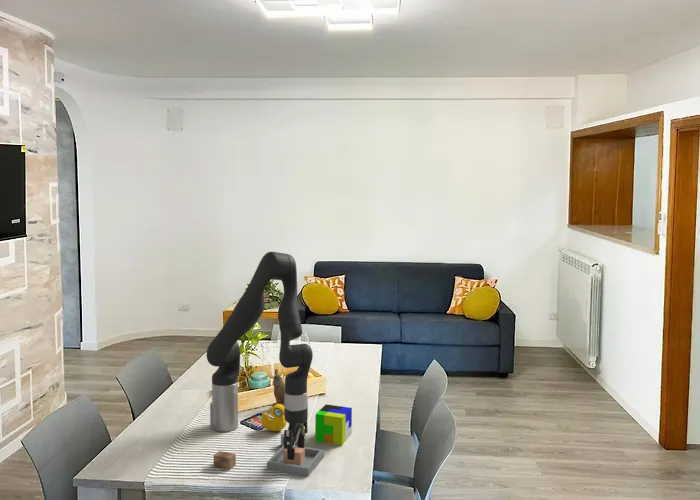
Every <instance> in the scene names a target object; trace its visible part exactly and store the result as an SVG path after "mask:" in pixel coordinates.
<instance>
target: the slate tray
mask: <svg viewBox="0 0 700 500" xmlns="http://www.w3.org/2000/svg"><path fill="white" fill-rule="evenodd" d="M295 447H298V446H295ZM304 449H305V461H304V462H303V463H302V464H301V465H298V464H292V463H285V462H283V450H284V445H283V446H281V447H280V448H279V449H278V450H277V452H276V453H274V454H273V455H272V457H271V458H270V459H268V460H267V462H266V464H267V465H266V470H267V471H274V472H279V473H286V474H292V475H299V476H304V477H309V476H310V475H311V474H312V473H313V471H315V469H316V468H317V466H318V465H319V464H320V462H321V461H322V460H323V459H324V455H325V453H324V452H325V450H324V449H321V448H314V447H308V446H307V447H306V446H305V447H304Z"/></svg>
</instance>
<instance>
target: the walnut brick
mask: <svg viewBox="0 0 700 500" xmlns="http://www.w3.org/2000/svg"><path fill="white" fill-rule="evenodd" d="M212 457H213V468H217V469H223V470H228V471H231V470H232V469H233V468H234V467H236V465H237V462H236V461H237V459H236V453H233V452H227V451H222V450H218V451H217V452H216V453H215V454H213V456H212Z"/></svg>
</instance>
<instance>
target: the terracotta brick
mask: <svg viewBox="0 0 700 500" xmlns="http://www.w3.org/2000/svg"><path fill="white" fill-rule="evenodd" d="M304 461H305V449H304V448H298V447H295V459H294V460H289V459H288V458H287V449H284V450H283V462H285V463H292V464H298V465H301V464H302V463H303V462H304Z"/></svg>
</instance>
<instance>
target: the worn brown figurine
mask: <svg viewBox="0 0 700 500" xmlns="http://www.w3.org/2000/svg"><path fill="white" fill-rule="evenodd" d="M274 375H275V376H273V379H272V384H273V397H274V399H275V402H273V403H272V404H271V407H273V406H274V405H276V404H282V405H283V406H284V397H285V380H283V378H282V376H281V375H279V370H278V368H275V370H274ZM271 407H270V408H271Z"/></svg>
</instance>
